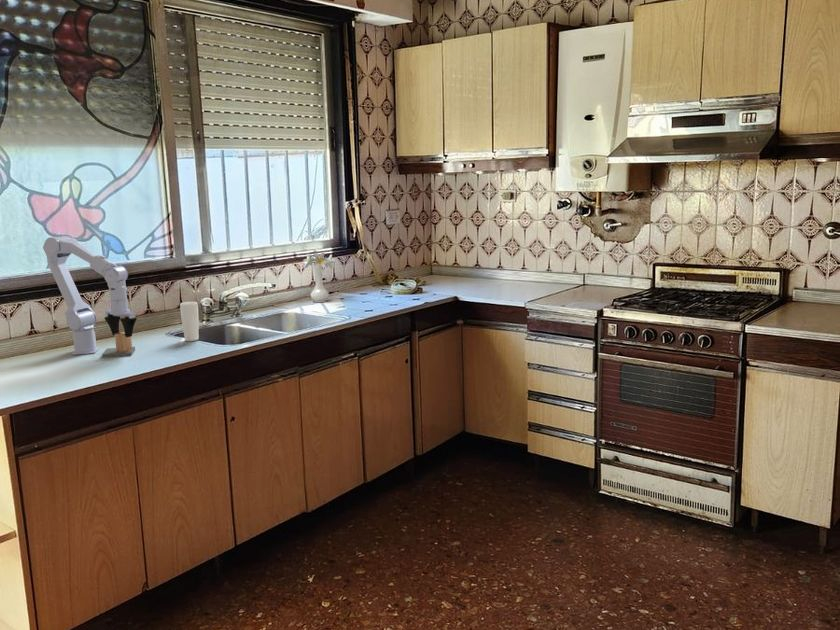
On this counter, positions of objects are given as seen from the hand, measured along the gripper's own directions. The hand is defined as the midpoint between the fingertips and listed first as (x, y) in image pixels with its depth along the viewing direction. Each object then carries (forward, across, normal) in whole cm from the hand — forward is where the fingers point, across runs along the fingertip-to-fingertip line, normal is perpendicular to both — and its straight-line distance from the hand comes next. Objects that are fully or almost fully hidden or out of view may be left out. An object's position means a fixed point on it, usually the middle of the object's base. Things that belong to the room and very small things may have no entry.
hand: (122, 335), depth 274 cm
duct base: (+7, +2, +1) cm, 7 cm away
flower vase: (+7, +6, -121) cm, 121 cm away
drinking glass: (+7, -5, -28) cm, 29 cm away
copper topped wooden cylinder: (+6, 0, 0) cm, 6 cm away
